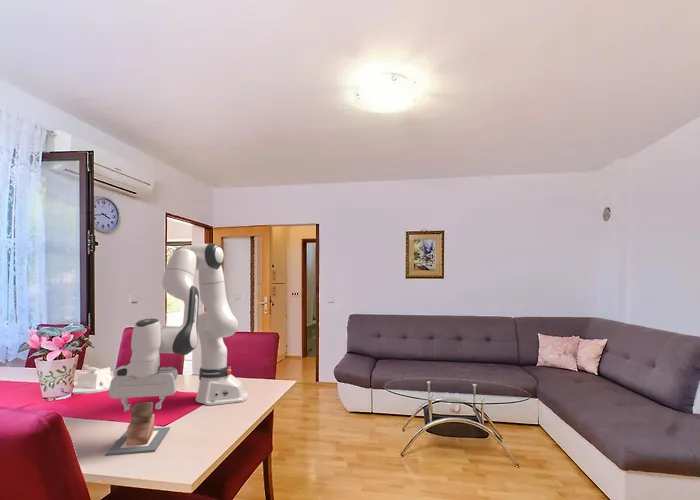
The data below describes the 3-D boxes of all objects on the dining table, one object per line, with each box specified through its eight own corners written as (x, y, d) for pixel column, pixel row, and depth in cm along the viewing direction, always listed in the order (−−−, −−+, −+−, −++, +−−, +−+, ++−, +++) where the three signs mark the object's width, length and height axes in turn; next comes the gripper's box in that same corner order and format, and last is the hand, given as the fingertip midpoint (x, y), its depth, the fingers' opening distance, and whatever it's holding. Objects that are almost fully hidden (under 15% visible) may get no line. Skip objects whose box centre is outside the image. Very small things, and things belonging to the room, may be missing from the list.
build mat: (170, 428, 133) (170, 426, 133) (154, 451, 116) (155, 449, 116) (127, 431, 130) (127, 429, 130) (105, 455, 113) (105, 453, 113)
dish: (94, 396, 168) (96, 371, 169) (49, 392, 173) (51, 368, 174) (135, 381, 193) (136, 359, 194) (94, 378, 197) (95, 357, 198)
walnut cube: (152, 417, 126) (152, 402, 127) (147, 422, 121) (148, 407, 122) (136, 418, 125) (136, 402, 126) (130, 423, 120) (131, 407, 121)
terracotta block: (153, 431, 129) (154, 414, 129) (147, 444, 119) (148, 425, 119) (134, 433, 127) (135, 415, 127) (126, 446, 117) (127, 427, 118)
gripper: (180, 364, 130) (178, 404, 129) (115, 366, 126) (113, 408, 125) (175, 368, 124) (173, 410, 123) (107, 371, 119) (105, 415, 118)
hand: (142, 409), depth 124 cm, fingers open, 8 cm apart
